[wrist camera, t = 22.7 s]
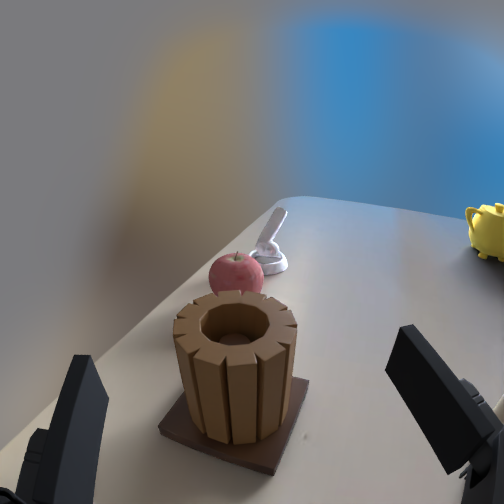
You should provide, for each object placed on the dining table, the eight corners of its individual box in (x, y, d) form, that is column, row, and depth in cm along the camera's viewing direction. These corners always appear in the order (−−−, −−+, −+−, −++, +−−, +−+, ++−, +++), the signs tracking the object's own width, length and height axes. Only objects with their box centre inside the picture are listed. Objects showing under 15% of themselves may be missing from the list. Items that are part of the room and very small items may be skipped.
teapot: (530, 271, 52) (544, 221, 46) (464, 259, 58) (477, 205, 52) (511, 248, 63) (522, 204, 58) (451, 237, 69) (460, 190, 64)
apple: (234, 284, 50) (233, 237, 47) (272, 300, 46) (274, 250, 43) (200, 304, 45) (195, 253, 42) (238, 324, 41) (236, 270, 38)
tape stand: (160, 434, 25) (135, 365, 21) (212, 363, 34) (205, 293, 30) (273, 476, 21) (281, 416, 17) (307, 389, 31) (319, 317, 27)
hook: (314, 229, 58) (305, 218, 51) (282, 287, 58) (269, 283, 52) (280, 213, 61) (267, 201, 55) (250, 268, 61) (234, 262, 55)
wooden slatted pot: (172, 422, 25) (149, 341, 21) (215, 362, 32) (208, 282, 28) (267, 457, 22) (273, 381, 18) (297, 384, 29) (308, 302, 25)
